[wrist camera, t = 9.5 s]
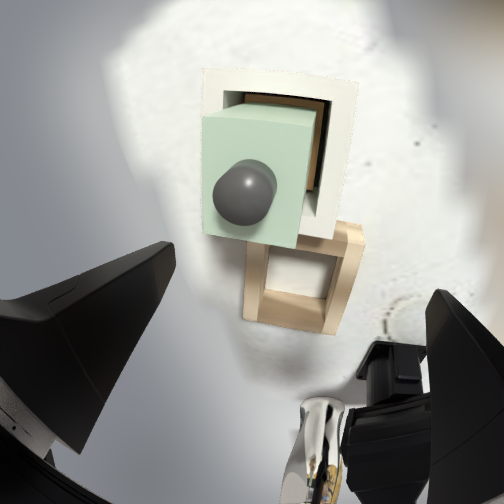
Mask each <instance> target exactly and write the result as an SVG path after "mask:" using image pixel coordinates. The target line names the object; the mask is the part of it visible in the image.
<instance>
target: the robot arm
mask: <svg viewBox="0 0 504 504" xmlns="http://www.w3.org/2000/svg"><path fill="white" fill-rule="evenodd" d="M175 267H176V258H175V248H174V244H173V243H171V242H166V241H160V242H158V243H155V244H153V245H150V246H148V247H145V248H143V249H140V250H137V251H135V252H132V253H130V254H127V255H125V256H123V257H120V258H117V259H115V260H113V261H110V262H108V263H105V264H103V265H100V266H98V267H96V268H93V269H91V270H89V271H86V272H84V273H82V274H80V275H77V276H74V277H72V278H70V279H67V280H65V281H62V282H60V283H58V284H55V285H52V286H50V287H47V288H44V289H41V290H39V291H36V292H33V293H31V294H28V295H25V296H22V297H20V298H17V299H12V300H1V299H0V504H114V503H112V502H110V501H108V500H106V499H104V498H103V497H101V496H99V495H97V494H95V493H94V492H92V491H90V490H88V489H87V488H85V487H83V486H82V485H80V484H78V483H77V482H75V481H74V480H72V479H71V478H69V477H67V476H66V475H65V474H63V473H62V472H60V471H59V470H57V469H56V467H55V463H54V459H53V455H52V451H51V449H50V447H51V446H52V444H53V442H54V441H55V440H57V441H58V442H60V443H61V444H63V445H64V446H66V447H67V448H69V449H71V450H72V451H74V452H75V453H77V454H79V455H80V454H81V452H82V450H83V448H84V446H85V444H86V442H87V439H88V437H89V435H90V433H91V431H92V429H93V427H94V425H95V423H96V421H97V419H98V417H99V415H100V413H101V411H102V409H103V407H104V405H105V402H106V401H107V399H108V397H109V395H110V393H111V391H112V389H113V387H114V385H115V383H116V382H117V380H118V378H119V376H120V374H121V372H122V370H123V368H124V366H125V365H126V363H127V361H128V359H129V357H130V355H131V353H132V352H133V350H134V348H135V346H136V344H137V343H138V341H139V339H140V337H141V336H142V334H143V332H144V330H145V328H146V326H147V325H148V323H149V321H150V320H151V318H152V316H153V314H154V313H155V311H156V309H157V307H158V305H159V304H160V302H161V300H162V297H163V295H164V293H165V290H166V288H167V286H168V284H169V281H170V279H171V277H172V275H173V273H174V270H175ZM425 317H426V346H420V345H411V344H402V343H393V342H385V341H375V342H374V343H373V345H372V347H371V349H370V350H369V352H368V354H367V356H366V358H365V360H364V362H363V363H362V365H361V367H360V369H359V371H358V372H357V374H356V378H357V379H359V380H367V407H363V408H357V409H355V408H352V409H349V413H348V416H347V419H346V424H345V428H344V432H343V437H342V441H341V445H340V447H339V453H340V454H341V455H342V457H343V462H344V465H345V466H346V467H348V471H347V479H346V483H347V485H348V487H349V489H350V490H351V492H354V493H355V494H356V496H357V497H358V499H359V500H360V502H361V503H362V504H416V502H417V499H418V498H419V496H420V494H421V493H422V491H423V489H424V487H425V486H426V484H427V482H428V481H429V489H428V498H427V504H504V346H503V345H502V344H501V343H500V342H499V341H498V340H497V339H496V338H495V337H494V336H493V335H492V334H491V333H490V332H489V331H488V330H487V328H486V327H485V326H484V325H483V324H482V323H481V322H480V321H479V320H478V319H477V318H476V317H475V316H474V315H472V314H471V313H470V312H469V311H468V310H467V309H466V308H465V307H464V306H463V305H462V304H461V303H460V302H459V301H458V300H457V299H456V298H455V297H454V296H453V295H451V294H450V293H449V292H448V291H447V290H442V289H436V290H435V291H434V293H433V295H432V297H431V299H430V301H429V303H428V305H427V308H426V312H425ZM377 345H378V346H377ZM426 355H427V361H428V371H429V384H430V392H428V393H424V394H423V386H422V374H421V367H420V363H421V362H422V361H423V359H424V358H425V356H426Z"/></svg>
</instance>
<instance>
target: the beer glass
mask: <svg viewBox="0 0 504 504" xmlns="http://www.w3.org/2000/svg"><path fill="white" fill-rule="evenodd" d="M344 410H345V407H344V404H343V403H342V402H341V401H339V400H337V399H334V398H330V397H314V398H310V399H307V400H305V401H304V402H302V404H301V406H300V418H301V424H300V430H299V434H298V436H297V439H296V442H295V444H294V447H293V449H292V452H291V454H290V457H289V459H288V462H287V465H286V468H285V472H284V476H283V481H282V487H281V495H280V502H279V504H337V500H338V496H339V491H340V486H341V480H342V455H341V454H340V453H339V447H340V445H341V444H340V425H341V421H342V417H343V414H344Z"/></svg>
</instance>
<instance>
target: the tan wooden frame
mask: <svg viewBox="0 0 504 504" xmlns="http://www.w3.org/2000/svg"><path fill="white" fill-rule="evenodd" d="M269 247H270V245H269V244H263V243H257V242H251V241H247V253H246V271H245V289H244V307H243V319H246V320H251V321H256V322H260V323H265V324H271V325H276V326H281V327H286V328H292V329H297V330H303V331H309V332H314V333H320V334H327V335H333V336H335V335H336V332H337V329H338V327H339V324H340V321H341V319H342V316H343V313H344V310H345V307H346V305H347V302H348V299H349V296H350V293H351V290H352V287H353V284H354V281H355V278H356V275H357V271H358V268H359V265H360V262H361V258H362V255H363V252H364V248H365V241H364V236H363V231H362V226H361V225H359V224H354V223H349V222H343V221H338V220H336V225H335V230H334V234H333V239H332V240H331V239H326V238H320V237H314V236H309V235H303V234H298V238H297V243H296V248H295V249H299V250H305V251H310V252H316V253H322V254H327V255H333V256H338V257H337V261H336V265H335V269H334V273H333V276H332V280H331V284H330V287H329V291H328V294H327V298H326V300H325V299H319V298H313V297H307V296H302V295H296V294H291V293H285V292H280V291H274V290H269V289H265V284H266V275H267V265H268V256H269Z"/></svg>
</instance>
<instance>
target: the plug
mask: <svg viewBox="0 0 504 504" xmlns="http://www.w3.org/2000/svg"><path fill="white" fill-rule="evenodd" d="M316 114H317V108H310V107H303V106H295V105H287V104H278V103H267V102H255V101H250V102H247V103H243V104H240V105H236V106H233V107H230V108H226V109H223V110H220V111H217V112H214V113H210V114H207V115H204V116H202V140H201V179H202V232H203V233H204V234H210V235H216V236H222V237H228V238H234V239H240V240H245V241H251V242H257V243H263V244H269V245H275V246H280V247H286V248H292V249H295V248H296V243H297V238H298V233H299V227H300V222H301V217H302V212H303V206H304V201H305V195H306V190H307V184H308V177H309V170H310V162H311V155H312V147H313V139H314V131H315V122H316Z"/></svg>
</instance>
